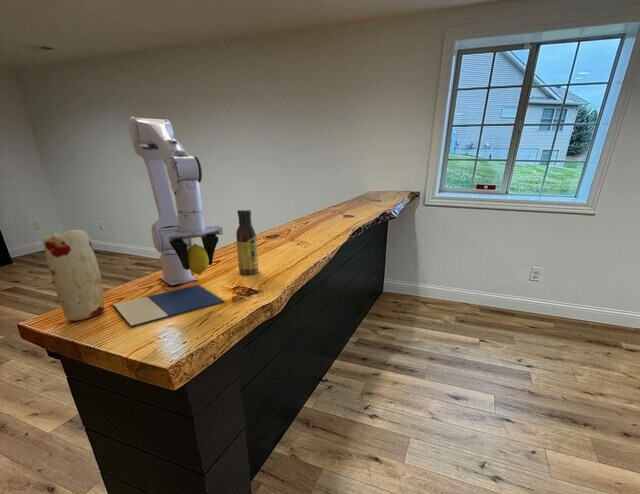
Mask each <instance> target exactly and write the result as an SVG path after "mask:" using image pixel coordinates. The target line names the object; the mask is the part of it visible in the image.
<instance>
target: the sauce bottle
mask: <svg viewBox="0 0 640 494" xmlns="http://www.w3.org/2000/svg"><path fill="white" fill-rule="evenodd" d="M237 216H238V227H237V229H236V231H235V237H236V253H237V263H238V264H237V265H238V270H239V273H240V275H247V276H248V275H255V274H257V273H258V272H259V256H258V242H257V233H256V232H255V229H254V227H253V224H252V210H251V209H247V208H246V209H238V210H237Z"/></svg>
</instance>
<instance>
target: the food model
mask: <svg viewBox="0 0 640 494" xmlns="http://www.w3.org/2000/svg"><path fill="white" fill-rule="evenodd" d="M42 243H43V248H44V253H45V258H46V262H47V266H48V270H49V274H50V278H51V281H52V284H53V286H54V290H55V294H56V296H57V299H58V301H59V303H60V307H61V309H62V312H63V315H64V317H65V319H66V321H69V322H71V321H75V322H77V321H82V320H86V319H88V318H91V317H94V316H97V315H99V314H101V313H103V312H104V311H105V300H104V299H105V298H104V290H103V289H104V288H103V281H102V276H101V271H100V267H99V263H98V260H97V256H96V253H95V251H94V247H93V245H92V242H91V238H90V237H89V234H88V233H87V231H86V230H82V229H72V230H67V231H64V232H63V231H62V232H60V233H57V232H52V233H50V234H48V235H46V236H44V237H43V239H42Z"/></svg>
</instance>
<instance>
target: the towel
mask: <svg viewBox="0 0 640 494" xmlns="http://www.w3.org/2000/svg"><path fill="white" fill-rule="evenodd" d="M223 303H225V302H224V300H223V299H221V298H220V297H218V296H217V295H215V294H213V293H211V292H210V291H209V290H207V289H205V288H203V287H202V286H200V285H199V284H197V285H193V286H188V287H183V288H178V289H174V290H170V291H166V292H161V293H157V294H152V295H149V296H142V297H138V298H133V299H129V300H125V301H119V302H116V303H112V304H113V307H114V308H115V309H116V310H117V312H118V313H119V314H120V315H121V317H122V318H123V319H124V320H125V321H126V323H127V324H128V325H129V326H130V328H133V327H138V326H141V325H144V324H149V323H152V322H155V321H160V320H163V319H167V318H170V317H174V316H179V315H181V314H185V313H189V312H192V311H196V310H200V309H203V308H208V307H212V306H215V305H219V304H223Z"/></svg>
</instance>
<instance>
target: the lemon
mask: <svg viewBox="0 0 640 494" xmlns="http://www.w3.org/2000/svg"><path fill="white" fill-rule="evenodd" d="M187 258H188V263H189V269H190V270H191V273H194V274H196V275H198V276H200V275H202V273H204V272H205V271H206V270H207V269H208V268H209V266H210V265H209V257H208V254H207V252H206V250H205V249H204V246H203V245H200V244H197V243H193V245H192V246H190V247H189V248H188V249H187Z"/></svg>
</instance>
